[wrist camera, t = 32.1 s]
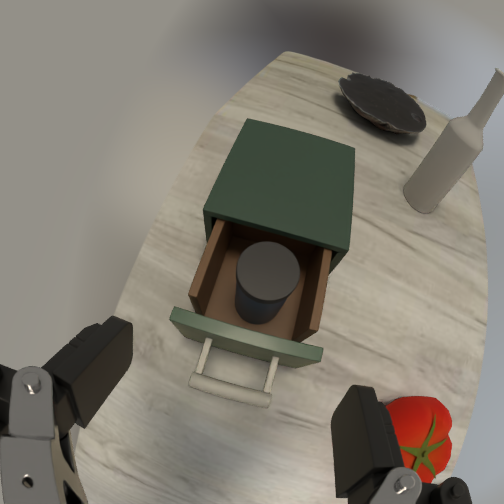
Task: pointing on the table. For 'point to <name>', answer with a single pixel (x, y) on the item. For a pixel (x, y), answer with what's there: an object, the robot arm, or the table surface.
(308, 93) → the table surface
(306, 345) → the drawer
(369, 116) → the rough clay dish
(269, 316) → the plastic container
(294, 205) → the cabinet
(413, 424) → the tomato
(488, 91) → the bottle
